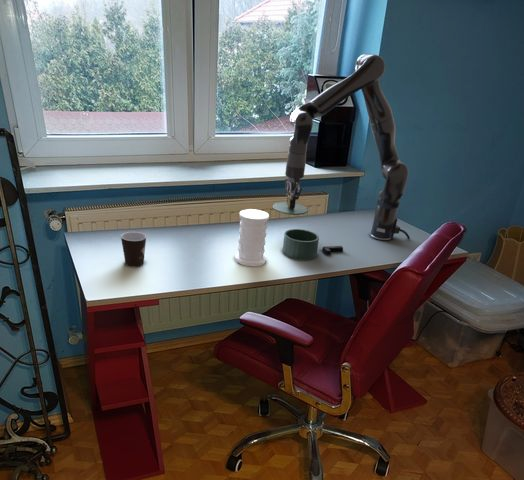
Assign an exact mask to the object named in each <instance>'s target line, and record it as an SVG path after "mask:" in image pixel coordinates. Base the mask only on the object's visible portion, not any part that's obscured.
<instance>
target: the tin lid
mask: <svg viewBox="0 0 524 480" xmlns="http://www.w3.org/2000/svg"><path fill="white" fill-rule="evenodd" d="M289 204H290V195H289V197H288V205H287V201H281V202H275V203H273V205H272V209H273V210H274V211H275V212H278V213H281V214H285V215H291V216H297V215H298V216H300V215H305V214H307V213H308V208H307V207H306V206H304V205H302V204H299V203H297V202H295V208H294V209H290V208H289Z"/></svg>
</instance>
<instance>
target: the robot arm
mask: <svg viewBox="0 0 524 480" xmlns="http://www.w3.org/2000/svg"><path fill="white" fill-rule="evenodd" d="M385 71H386V62H385V60H384V59H383V57H382V56H380V55H378V54H375V53H363V54H361V55H360V56H358V57H357V59H356V60H355V63H354V72H353V73H352V74H350V75H349V76H347V77H346V78H343V80H340V81H339V82H337V83H335V84H333V85H330V86H329V87H328V88H326V89H325V90H324V91H322V92H321V93H319V94H318V95H317V96H315V97H314V98H313V99H312V100H310V101H308V102H306V103H304V104H302V105H300V106H298V107H297V108H296V109H295V110H293V112H291V115H290V118H289V122H290V124H291V126H292V127H293V128H294V132H293V135H292V137H290V139H289V146H288V152H287V156H286V157H287V158H286V164H285V165H286V166H285V172H284V175H285V176H286V177H287V178H284V179H285V180H284V183H285V185H284V186H285V187H284V188H285V195H286V197H287V198H286V202H287V205H288V197H289V195H290V204H289V208H290V209H294V208H295V203H296V202H297V201H296V200H299V198H300V196H301V193H302V191H303V190H302V189H303V188H302V187H301V186H300V183H301V182H300V180H301V179H303V178H304V176H305V170H306V165H307V163H306V162H307V151H308V143H309V140H310V137H311V133H312V131H313V126H314V119H315V118H320V117H324V116H325V115H326V114H328V113H329V112H331V110H333V109H335V108H336V107H337V106H338V105H339V104H341V103H342V102H344V101H345V100H346V99H348V98H350V97H351V96H352V95H354V94H355V93H357V92H359V91H361V93H362V97H363V100H364V105H365V109H366V112H367V116H368V117H367V118H368V121H369V125H370V129H371V133H372V136H373V140H374V143H375V146H376V148H377V152H378V156H379V164H380V170H381V175H382V177H383V179H385V183H384V186H383V189H381V190H380V191H379V193H378V198H377V203H376V207H375V212H374V216H373V221H372V225H371V230H370V234H369V235H370V237H371V238H373V239H375V240H379V241H391V240H393V239H394V235H395V234H400V232H401V233H402V234H404V235H405V236H406V238H407V239H408V240H410V238H411V237H410V235H409V233H408V232H406V230H404V229H401V226H399V225H398V224H397V223H398V217H397V215H398V210H399V206H400V202H401V199H402V197H403V195H404V193H405V190H406V186H407V183H408V179H409V173H410V172H409V171H410V170H409V167H408V166H407V164H406V163H404V162H403V161H401V160H400V158H399V155H398V151H397V147H396V122H395V118H394V114H393V110H392V108H391V106H390V103H389V102H388V100H387V98H386V96H385V94H384V93H383V91H382V87H381V85H380V79H381V78H382V77H383V76H384V73H385Z"/></svg>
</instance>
